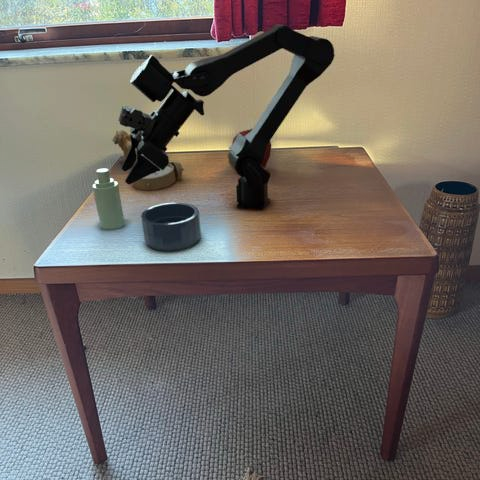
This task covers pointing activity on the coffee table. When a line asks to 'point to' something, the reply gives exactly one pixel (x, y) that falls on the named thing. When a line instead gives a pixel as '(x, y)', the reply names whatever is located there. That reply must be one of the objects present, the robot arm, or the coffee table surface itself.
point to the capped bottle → (108, 201)
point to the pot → (171, 226)
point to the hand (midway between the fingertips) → (124, 176)
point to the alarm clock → (161, 177)
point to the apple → (266, 150)
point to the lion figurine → (122, 141)
